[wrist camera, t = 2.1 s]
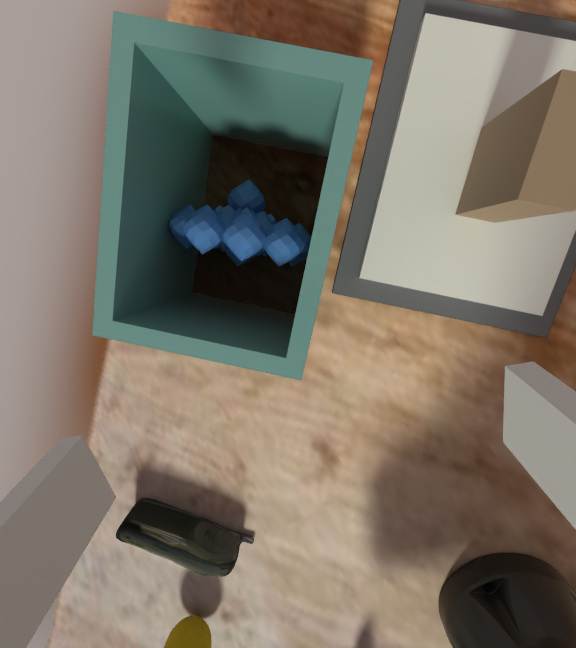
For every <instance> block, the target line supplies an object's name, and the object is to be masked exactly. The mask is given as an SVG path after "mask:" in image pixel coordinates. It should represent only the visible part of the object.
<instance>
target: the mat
mask: <svg viewBox="0 0 576 648" xmlns="http://www.w3.org/2000/svg"><path fill="white" fill-rule="evenodd" d="M425 13H428V14H433V15H438V16H444V17H449V18H455V19H460V20H465V21H471V22H476V23H481V24H487V25H492V26H498V27H503V28H508V29H514V30H519V31H524V32H530V33H535V34H540V35H546V36H551V37H557V38H562V39H567V40H573V41H576V22H574V21H569V20H563V19H558V18H553V17H547V16H542V15H536V14H531V13H526V12H520V11H515V10H509V9H504V8H498V7H493V6H488V5H482V4H477V3H471V2H466V1H461V0H400V2H399V6H398V11H397V15H396V19H395V24H394V28H393V32H392V37H391V41H390V45H389V49H388V54H387V58H386V62H385V67H384V71H383V75H382V79H381V84H380V88H379V92H378V97H377V101H376V105H375V110H374V114H373V118H372V122H371V127H370V131H369V135H368V140H367V144H366V148H365V152H364V157H363V161H362V165H361V170H360V174H359V178H358V183H357V187H356V191H355V195H354V200H353V204H352V208H351V213H350V217H349V221H348V226H347V230H346V234H345V238H344V243H343V247H342V251H341V256H340V260H339V264H338V268H337V273H336V277H335V281H334V286H333V290H332V293H335V294H340V295H344V296H349V297H354V298H359V299H364V300H368V301H373V302H378V303H383V304H387V305H392V306H397V307H402V308H407V309H411V310H416V311H421V312H426V313H430V314H435V315H440V316H445V317H450V318H454V319H459V320H464V321H469V322H473V323H478V324H483V325H488V326H493V327H497V328H502V329H507V330H512V331H516V332H521V333H526V334H531V335H536V336H540V337H545V338H547V336H548V334H549V331H550V329H551V326H552V324H553V321H554V319H555V316H556V314H557V311H558V309H559V306H560V304H561V301H562V299H563V296H564V294H565V291H566V289H567V286H568V284H569V281H570V279H571V276H572V274H573V271H574V269H575V266H576V231H575V233H574V236H573V239H572V241H571V244H570V246H569V249H568V251H567V254H566V257H565V259H564V262H563V264H562V267H561V269H560V272H559V275H558V277H557V280H556V282H555V285H554V287H553V290H552V293H551V295H550V298H549V300H548V303H547V305H546V308H545V311H544V313H543V316H540V315H535V314H530V313H525V312H521V311H516V310H511V309H506V308H501V307H497V306H492V305H487V304H482V303H477V302H472V301H468V300H463V299H458V298H453V297H448V296H444V295H439V294H434V293H429V292H424V291H419V290H415V289H410V288H405V287H400V286H395V285H391V284H386V283H381V282H376V281H371V280H367V279H362V278H359V277H358V274H359V270H360V265H361V261H362V257H363V253H364V249H365V245H366V241H367V237H368V233H369V229H370V225H371V221H372V217H373V213H374V209H375V205H376V201H377V197H378V193H379V189H380V185H381V181H382V177H383V173H384V169H385V165H386V161H387V157H388V153H389V149H390V145H391V141H392V137H393V133H394V129H395V125H396V121H397V116H398V112H399V108H400V104H401V100H402V96H403V92H404V88H405V84H406V80H407V76H408V72H409V68H410V64H411V60H412V56H413V52H414V48H415V44H416V40H417V36H418V32H419V28H420V24H421V22H422V19H423V17H424V15H425Z"/></svg>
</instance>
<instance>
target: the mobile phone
mask: <svg viewBox="0 0 576 648" xmlns="http://www.w3.org/2000/svg"><path fill="white" fill-rule="evenodd" d="M116 538H117V539H119V540H120V541H122V542H125V543H129V544H131V545H134V546H137V547H139V548H142V549H144V550H146V551H148V552H150V553H153V554H155V555H158V556H161V557H164V558H166V559H169V560H171V561H173V562H175V563H177V564H179V565H181V566H183V567H185V568H187V569H189V570H191V571H193V572H195V573H198V574H201V575H214V576H220V577H222V576H226V575H228V574H229V573H230V572H231V571H232V569H233V568H234V566H235V563H236V560H237V557H238V553H239V546H240V544H241V543H242V542H247V543H250V544H252V543H253V541H254V538H253V537H249V536H246V535H243V534H240V533H237V532H234V531H231V530H228V529H226V528H224V527H221V526H218V525H216V524H213V523H211V522H209V521H206V520H204V519H201V518H198V517H195V516H192V515H190V514H188V513H186V512H184V511H181V510H179V509H177V508H174V507H171V506H169V505H166V504H164V503H161V502H159V501H156V500H152V499H141V500H139V501H138V502H137V503H136V504H135V505H134V507H133V508H132V509H131V511H130V512H129V514H128V515H127V516H126V518H125V519H124V521H123V522H122V524H121V525H120V527H119V528H118V530H117V533H116Z"/></svg>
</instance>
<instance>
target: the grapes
mask: <svg viewBox="0 0 576 648" xmlns="http://www.w3.org/2000/svg"><path fill="white" fill-rule="evenodd" d="M227 201H228V206H226V207H223V208H222V207H221V205H219V206H218V207H217V208H215V209H214V210H212V209H211V208H210V207H209V206H208V205H205V206H203V207H201V208H200V209H198V210H197V211H196V210H195V209H194V208H193V207H192V206H191V205H188V206H187V207H185V208H183V209H182V210H180V211H179V212H177V213H176V214H175V215H173V216H172V217H171V220H170V223H169V229H170V231H171V232H172V234H173V236H174V238H175V239H176V240H177V241H178V242H179V243H180V244H181V245H182V246H183V247H184V248H185V249H186V250H187V249H188V248H190V247H192V246H194V247H195V248H196V249H198V250H199V251H200V252H201V253H202V254H204V253H206V252H208V251H209V250H211V249H213V248H215V249H217V248H219V249H220V250H221V251H222V252H224V251H225V252H226V254H227V255H228V256H229V258H230V259H231V260H232V261H233V262H234V263H235V264H236V265H237V266H238V267H239V266H241V265H242V264H244V263H246V262H248V261H249V260H251V259H252V258H253V257H255V256H256V255H257V256H259V255H263V256H264V257H265V256H267V255H269V256H270V257H271V258H272V260H273V261H274V262H275V263H276V264H277V265H278V266H281V265H283V264H285V263H287V262H288V263H289V264H290V265H291V266H294V265H296V264H298V263H300V262H302V261H303V260H305V259H307V256H308V252H309V247H310V242H311V236H310V234H309V233H308V232H307V230H306V229H305V228H304V227H303V226H302V225H301V224H300V223H298V224H296V225H293V224H292V223H291V222H290V221H289V220H288V219H287V218H285V219H283V220H281V221H279V222H277V221H276V220H275V218H274V217H273V216H272V214H271V213H270V214H269V215H268V214H267V213H266V212H265V211H262V210H263V209H264V208H265V202H264V196H263V195H262V194H261V192H260V191H259V190H258V188H257V187H256V186H255V185H254V184H253V183H252V182H251V181H250V180H249V179H248V180H246V181H244V182H243V183H241V184H240V185H238V186H237V187H236V188H234V189H233V190H232V191H231V192H230V194H229V196H228V200H227Z"/></svg>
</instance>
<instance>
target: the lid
mask: <svg viewBox="0 0 576 648" xmlns="http://www.w3.org/2000/svg"><path fill="white" fill-rule="evenodd" d="M575 231H576V41H573V40H567V39H562V38H557V37H551V36H546V35H540V34H535V33H530V32H524V31H519V30H514V29H508V28H503V27H498V26H492V25H487V24H481V23H476V22H471V21H465V20H460V19H455V18H449V17H444V16H438V15H433V14H428V13H425V15H424V17H423V19H422V22H421V24H420V28H419V32H418V36H417V40H416V44H415V48H414V52H413V56H412V60H411V64H410V68H409V72H408V76H407V80H406V84H405V88H404V92H403V96H402V100H401V104H400V108H399V112H398V116H397V121H396V125H395V129H394V133H393V137H392V141H391V145H390V149H389V153H388V157H387V161H386V165H385V169H384V173H383V177H382V181H381V185H380V189H379V193H378V197H377V201H376V205H375V209H374V213H373V217H372V221H371V225H370V229H369V233H368V237H367V241H366V245H365V249H364V253H363V257H362V261H361V265H360V270H359V274H358V277H359V278H362V279H367V280H371V281H376V282H381V283H386V284H391V285H395V286H400V287H405V288H410V289H415V290H419V291H424V292H429V293H434V294H439V295H444V296H448V297H453V298H458V299H463V300H468V301H472V302H477V303H482V304H487V305H492V306H497V307H501V308H506V309H511V310H516V311H521V312H525V313H530V314H535V315H540V316H543V313H544V311H545V308H546V305H547V303H548V300H549V298H550V295H551V293H552V290H553V287H554V285H555V282H556V280H557V277H558V275H559V272H560V269H561V267H562V264H563V262H564V259H565V257H566V254H567V251H568V249H569V246H570V244H571V241H572V239H573V236H574V233H575Z"/></svg>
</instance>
